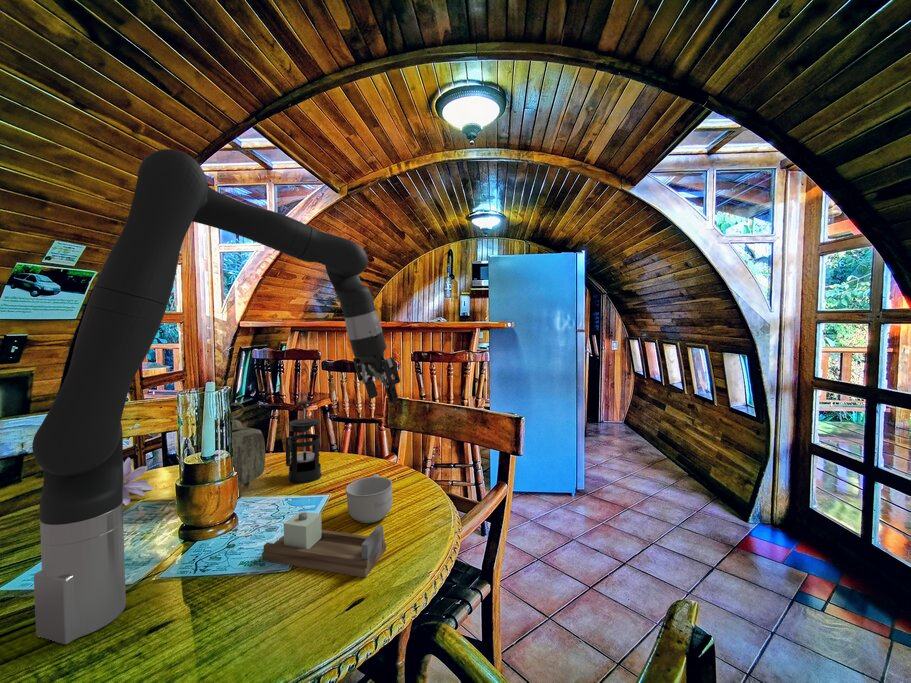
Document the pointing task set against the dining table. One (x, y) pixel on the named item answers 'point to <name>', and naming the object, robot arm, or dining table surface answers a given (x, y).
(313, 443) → the french press
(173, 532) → the dining table surface
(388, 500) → the teacup
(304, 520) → the slider
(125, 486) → the water lily
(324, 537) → the track
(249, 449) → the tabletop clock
